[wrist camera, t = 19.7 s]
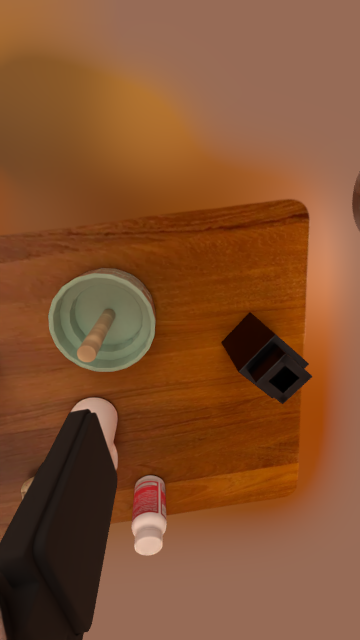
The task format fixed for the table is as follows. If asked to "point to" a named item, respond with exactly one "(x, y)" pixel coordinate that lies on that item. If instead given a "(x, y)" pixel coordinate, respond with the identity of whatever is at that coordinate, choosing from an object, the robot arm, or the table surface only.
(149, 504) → the pill bottle
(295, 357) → the vase
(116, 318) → the bowl
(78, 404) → the mug
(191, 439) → the table surface
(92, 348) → the stick
